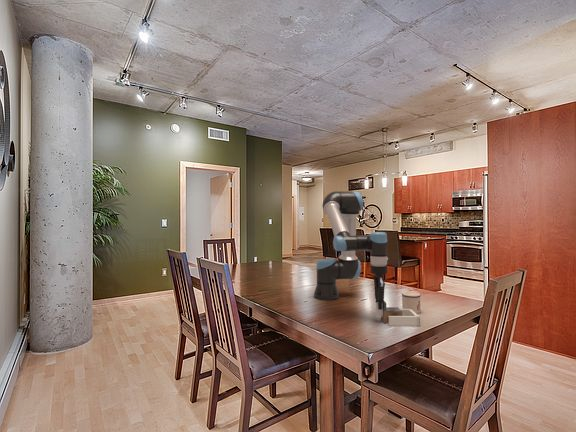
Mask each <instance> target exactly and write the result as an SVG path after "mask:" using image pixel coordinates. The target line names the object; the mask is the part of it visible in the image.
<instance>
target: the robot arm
mask: <svg viewBox="0 0 576 432" xmlns="http://www.w3.org/2000/svg"><path fill="white" fill-rule="evenodd" d="M321 205H322V210H323V213H324V214H325V215H326V216H327V219H328V222H329V224H330V226H331V229H332V232H333V234H334V237H333V240H332V243H333V244H332V245H333V250H335V251H336V252H340V255H339V256H338V260H336V258H335V257H329V258H328V257H327V258H326V257H325V258H322V259H319V260H317V262H316V286H315V289H314V293H313V297H314V299H317V300H321V299H322V300H323V301H332V300H337V299H339V298H340V293H339V292H340V291H339V290H338V287H337V280H355V279H358V278H359V277H360V274H361V271H362V263H361V260H359V257H358V256H357V255H356V252H358V251H359V252H362V251H365V252H368V251H369V252H370V262H369V263H370V273H371V274H372V275H374V277H373V282H374V283H373V285H374V288H373V289H374V299H375V300H374V301H375V305H376V306H375V313H376V314H375V315H376V317H381V316H383V302H384V301H385V287H386V282H385V278H384V276H385V275H387V274H388V266H387V265H388V260H389V258H388V234H387V232H385V231H372V232H371V233H370V234H364V235H357V217H358V216H359V215H360V212H361V211H363V209H364V200H363V196H362V194H361V193H360V192H359V191H354V190H352V191H351V190H350V191H349V190H348V191H342V190H341V191H337V190H336V191H332V192H330V193H328V194H327V195H326V196H325V197H324V198H323V201H322V204H321Z"/></svg>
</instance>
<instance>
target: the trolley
mask: <svg viewBox="0 0 576 432" xmlns="http://www.w3.org/2000/svg"><path fill="white" fill-rule="evenodd" d="M400 309H401V308H399V307H398V306H397V307H394V306H393V307H392V306H391V307H390V306H388V307H387V302H386V301H385V300H384V302H383V316H380V319H381V321H382V322H383V323H384V324H389V316H402V310H400Z"/></svg>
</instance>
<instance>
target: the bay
mask: <svg viewBox="0 0 576 432" xmlns="http://www.w3.org/2000/svg"><path fill="white" fill-rule="evenodd" d="M399 309H400V310H402V316H389V323H388V326H390V327H396V326H397V327H421V316H420V315H419V314H418V313H417V314H416V313H415V312H414V311H413V310H412V309H402V308H399Z"/></svg>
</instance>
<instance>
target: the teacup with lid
mask: <svg viewBox="0 0 576 432" xmlns="http://www.w3.org/2000/svg"><path fill="white" fill-rule="evenodd" d="M401 297H402V298H401V301H402V302H401V304H402V305H401V309H412V310H413V311H414V312H415V313H416V314H417V315H418V314H420V313H421V293H420V292H417V291H415V290H414V289H413V288H411V287H409V289H408V290H406V291H402V292H401Z"/></svg>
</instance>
